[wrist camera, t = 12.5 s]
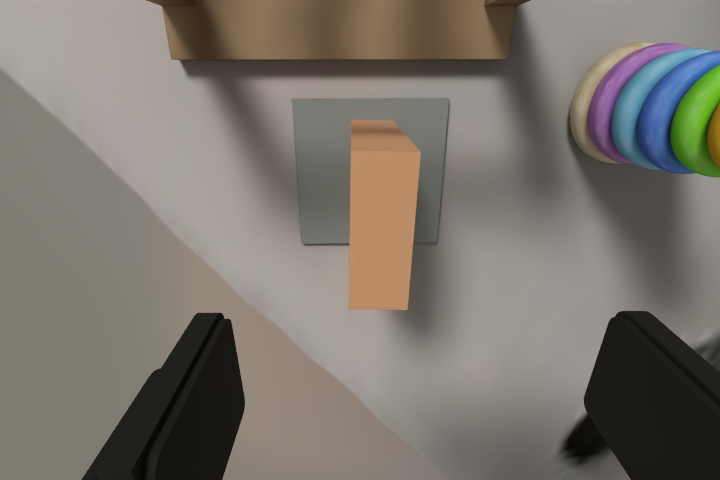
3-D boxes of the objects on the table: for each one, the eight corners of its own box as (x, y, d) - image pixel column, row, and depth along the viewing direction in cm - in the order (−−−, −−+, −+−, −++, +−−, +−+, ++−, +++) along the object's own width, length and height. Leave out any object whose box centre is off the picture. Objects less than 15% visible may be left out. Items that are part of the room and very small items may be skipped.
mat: (447, 98, 27) (449, 98, 27) (436, 240, 32) (437, 242, 31) (292, 98, 27) (291, 99, 27) (302, 241, 32) (301, 243, 31)
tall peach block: (393, 120, 28) (420, 152, 17) (387, 225, 31) (407, 309, 20) (351, 119, 28) (350, 150, 16) (349, 224, 31) (348, 309, 20)
